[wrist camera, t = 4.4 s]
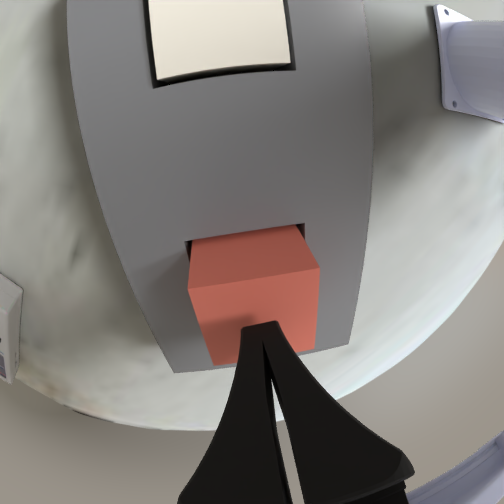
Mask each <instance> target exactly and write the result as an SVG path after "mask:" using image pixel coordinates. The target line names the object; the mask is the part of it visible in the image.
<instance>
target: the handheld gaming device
mask: <svg viewBox="0 0 504 504" xmlns="http://www.w3.org/2000/svg"><path fill="white" fill-rule="evenodd" d="M9 295H10V296H9ZM22 295H23V289H22V288H21V287H19V286H18V285H16V284H15V283H13V282H12V281H10V280H9V279H8V278H6V277H5V276H3V275H2V274H1V273H0V378H1V379H3V380H4V381H6V382H7V383H9V384H12V383H13V380H14V378H15V375H16V372H17V370H18V367H19V334H20V316H21V305H22Z"/></svg>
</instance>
